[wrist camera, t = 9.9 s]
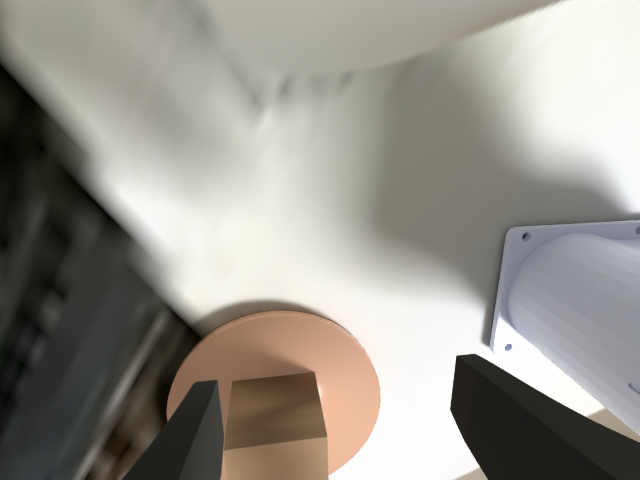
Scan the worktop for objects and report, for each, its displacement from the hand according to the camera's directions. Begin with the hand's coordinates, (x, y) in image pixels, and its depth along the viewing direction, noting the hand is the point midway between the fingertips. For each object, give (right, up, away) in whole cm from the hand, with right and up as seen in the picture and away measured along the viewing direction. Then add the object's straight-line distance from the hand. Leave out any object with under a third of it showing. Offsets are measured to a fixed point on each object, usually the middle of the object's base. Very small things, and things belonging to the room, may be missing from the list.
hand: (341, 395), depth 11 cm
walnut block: (-3, -5, +10) cm, 12 cm away
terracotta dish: (-3, -5, +11) cm, 13 cm away
